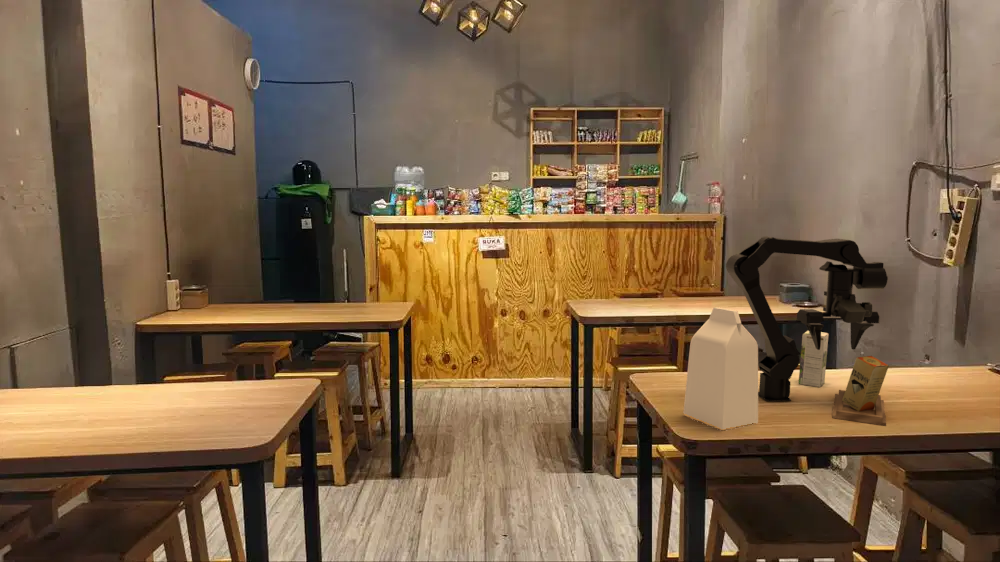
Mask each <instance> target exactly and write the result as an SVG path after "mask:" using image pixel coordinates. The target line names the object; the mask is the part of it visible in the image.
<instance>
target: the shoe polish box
mask: <svg viewBox="0 0 1000 562" xmlns="http://www.w3.org/2000/svg"><path fill="white" fill-rule="evenodd" d="M889 366H890V365H889V364H887V363H885V362H884V361H882V360H880V359H878V358H877V357H875V356H872V355H866V356H865V355H864V356H856V357H855V360H854V364H853V367H852V370H851V372H850V376H849V379H848V382H847V385H846V387H845V394H844V397H843V400H842V401H844V402H845V403H847V404H848V405H850V406H851V407H853V408H854V409H856V410H857V411H865V410H871V409H874V406H875V404H876V401H877V398H878V395H880V391H881V390H882V386H883V384H884V381H885V378H886V375H887V372H888V369H889Z"/></svg>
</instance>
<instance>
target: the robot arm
mask: <svg viewBox="0 0 1000 562" xmlns="http://www.w3.org/2000/svg"><path fill="white" fill-rule="evenodd" d="M774 253H775V254H777V253H778V254H788V255H789V254H790V255H798V256H799V255H801V256H811V257H812V256H813V257H818V258H821V259H826V260H827V261H826V262H825V263H823V265H821V266H820V267H819V271H823V272H827V283H826V284H827V285H826V287H827V288H826V291H823V296H825V297H826V300H825V302H826V303H825V307H824V306H823V307H822V311H823V312H822V311H820V310H816V309H813V308H811V309H810V308H807V309H806V308H800V309H799V310H798V312H797V313H796V320H797V321H800V322H801V324H804V325H805V326H806V328H807V331H809V332H810V334H811V337H812V339H813V342H814V344H815V347H816V349H817V350H820V346H821V332H822V329H823V328H824V326H825V325H824V324H823V323H822V322H823V321H826V320H827V321H829V320H831V321H832V320H833V321H837V320H838V321H839V320H841V321H843V322H844V323H847V324H850V347H851V350H853V351H855V350H856V349H857V346H858V344H859V342H860V341H861V339H862V336H863V335H864V333H865V332H866V330H868V329H869V328H871V327H874V326H875V324H880V322H881V316H880V314H879V313H878V311H875V310H873V304H872V303H871V302H870V301H865V302H864V301H863V302H857V301H856V299H857V297H856V294H854V293H853V289H854V287H853V285H854V286H855V288H856V289H858V290H884V289H885V288H886V286H887V284H888V280H889V276H888V275H887V271H886V269H885V268H884V263H883V262H882V261H881V262H880V261H872V262H867V261H866V260H865V259H864V257H863V256H862V254H861V253H860V249H859V246H858V244H857V243H856V242H855V241H854V240H850V239H845V238H830V239H821V240H814V241H813V240H802V239H790V238H781V237H780V238H779V237H773V236H767V235H766V236H762V237H761V238H759V239H758V240H757V241H756V242H755V243H753V244H751V245H750V246H748V247H746V248H745V249H743V250H741V252H740V253H738V254H737V253H736V254H733V255H731V256H730V257H729V258H728V259H727V261H726V263H725V268H726V271H727V274H729V275H730V277H731V278H732V280H733V281H734V282H735V284H736V285H737V286H738V287H739V288H740V290H742V292H743V294H744V296H745V299H746V301H747V303H748V306H749V307H750V309H751V312H752V314H753V316H754V318H755V320H756V323H757V325H758V327H759V328H760V329H759V330H760V331H761V334H762V335H763V338H764V349H765V353H766V355H765V356H764V357H763V358H762V359H760V360H758V370H759V371H760V373H759V385H758V397H759V398H761V399H762V400H764V401H766V402H791V401H792V398H791V397H790V396H791V380H790V379H791V378H792V375H793V374H794V371H795V370H796V369H798V367H799V366H800V359H801V357H800V356H801V351H800V352H799V350H798V348H797V345H796V342H795V340H794V338H793V339H792V338H791V337H789V336H787V335H783V333H782V330H781V329H780V326H779V324H778V322H777V320H776V318H775V316H774V313H773V311H772V309H771V306H770V304H769V302H768V300H767V297H766V296H765V294H764V292H763V289H762V287H761V277H760V271H759V268H760V267H761V266H762V265H764V264H765V263H766V261H767V260H768V259H769V258H770V257H771V255H773V254H774ZM832 261H834V262H839V263H840V264H839V263H838V264H835V263H833V262H832ZM847 266H851V267H850V268H849V267H847ZM821 323H822V324H821Z"/></svg>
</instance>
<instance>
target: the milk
mask: <svg viewBox="0 0 1000 562" xmlns="http://www.w3.org/2000/svg"><path fill="white" fill-rule="evenodd" d="M758 362H759V345H758V341H757V340H756V339H755V337H754V336H753V335H752V334H751V333H750V332H749V331H748V329H747V328H745V326H744V325H743V324H742V320H741V318H740V314H739V311H738V310H735V309H730V308H724V307H719V306H718V307H716V306H715V307H713V308H712V311H711V313H710V314H709V318H708V319H707V320H706V321H705V322H704V323H703V325H702V326H701V327H700V328H699V329H698V330H697V331H696V332H695V333H694V334H693V336H692V337H691V339H690V345H689V353H688V364H687V374H686V383H685V391H684V394H685V395H684V403H683V404H684V405H683V412H682V414H683V413H684V414H687V415H689V416H692V417H694V418H696V419H699V420H702V421H704V422H707V423H709V424H712V425H714V426H717V427H719V428H721V429H726V428H730V427H736V426H741V425H747V424H752V423H756V424H759V396H758V392H759V366H758ZM752 425H753V424H752Z"/></svg>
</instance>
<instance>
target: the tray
mask: <svg viewBox="0 0 1000 562" xmlns="http://www.w3.org/2000/svg"><path fill="white" fill-rule="evenodd" d="M845 391H846V389H845V390H844V389H838V393H834V400H833V407H832V414H831V418H832V419H838V420H844V421H851V422H856V423H864V424H870V425H871V424H872V425H879V426H887V421H886V420H887V419H886V410H885V400H884V399H882V398H881V394H879V395H878V398H877V401H876V404H875V406H874V409H871V410H865V411H857V410H856V409H854V408H853V407H851V406H850V405H848V404H847V403H845V402H844V401H842V400H843V397H844V394H845Z"/></svg>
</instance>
